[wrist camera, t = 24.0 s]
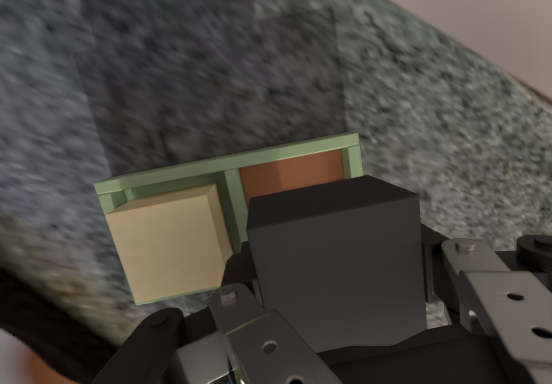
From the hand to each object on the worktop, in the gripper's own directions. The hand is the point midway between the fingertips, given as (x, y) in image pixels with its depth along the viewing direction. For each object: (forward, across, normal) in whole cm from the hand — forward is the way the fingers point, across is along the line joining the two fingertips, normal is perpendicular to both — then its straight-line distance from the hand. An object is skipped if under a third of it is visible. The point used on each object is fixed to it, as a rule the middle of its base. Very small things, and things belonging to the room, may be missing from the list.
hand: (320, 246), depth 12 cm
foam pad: (+7, +8, 0) cm, 11 cm away
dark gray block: (0, 0, 0) cm, 0 cm away
